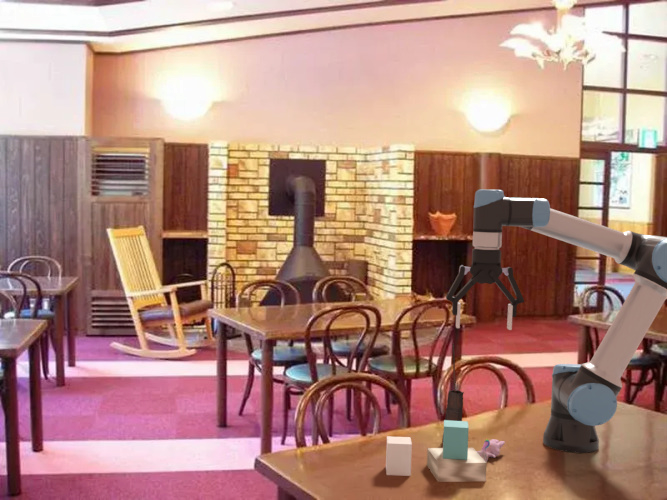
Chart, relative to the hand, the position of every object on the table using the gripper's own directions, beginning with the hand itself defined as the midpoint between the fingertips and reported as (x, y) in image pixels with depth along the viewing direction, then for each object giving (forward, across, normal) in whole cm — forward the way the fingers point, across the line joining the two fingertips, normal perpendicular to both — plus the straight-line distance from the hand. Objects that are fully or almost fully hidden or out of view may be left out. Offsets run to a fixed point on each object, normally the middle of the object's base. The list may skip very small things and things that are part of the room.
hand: (483, 328), depth 220 cm
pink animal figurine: (+35, -3, 0) cm, 35 cm away
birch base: (+35, +8, +14) cm, 38 cm away
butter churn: (+35, +5, -11) cm, 37 cm away
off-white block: (+35, +22, +14) cm, 43 cm away
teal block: (+30, +8, +14) cm, 34 cm away
